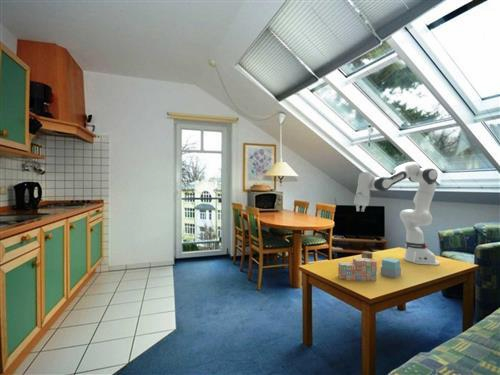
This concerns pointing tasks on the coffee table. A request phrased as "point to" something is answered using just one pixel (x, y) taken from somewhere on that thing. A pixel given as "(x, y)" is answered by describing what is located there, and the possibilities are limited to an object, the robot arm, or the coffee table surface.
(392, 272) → the tower base
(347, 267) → the stack of blocks
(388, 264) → the tower top
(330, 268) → the coffee table surface
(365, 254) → the walnut block
